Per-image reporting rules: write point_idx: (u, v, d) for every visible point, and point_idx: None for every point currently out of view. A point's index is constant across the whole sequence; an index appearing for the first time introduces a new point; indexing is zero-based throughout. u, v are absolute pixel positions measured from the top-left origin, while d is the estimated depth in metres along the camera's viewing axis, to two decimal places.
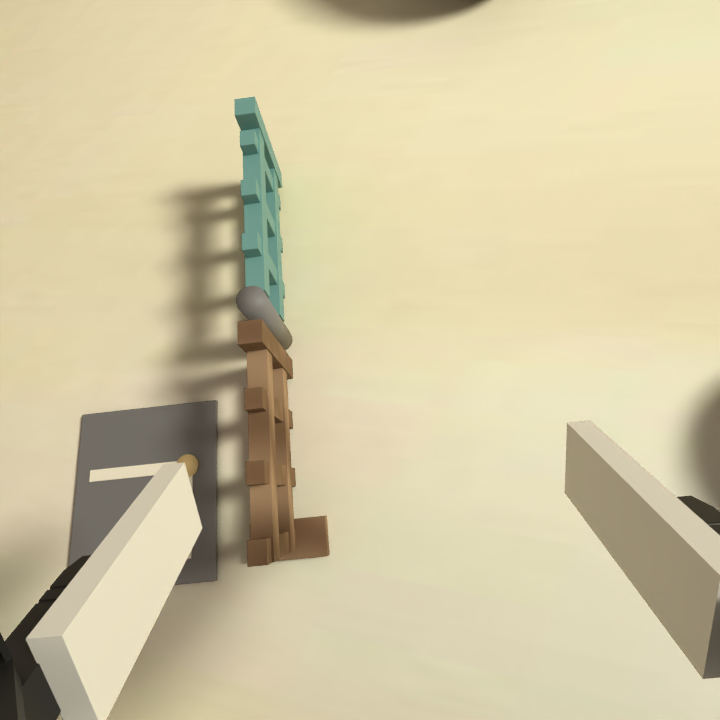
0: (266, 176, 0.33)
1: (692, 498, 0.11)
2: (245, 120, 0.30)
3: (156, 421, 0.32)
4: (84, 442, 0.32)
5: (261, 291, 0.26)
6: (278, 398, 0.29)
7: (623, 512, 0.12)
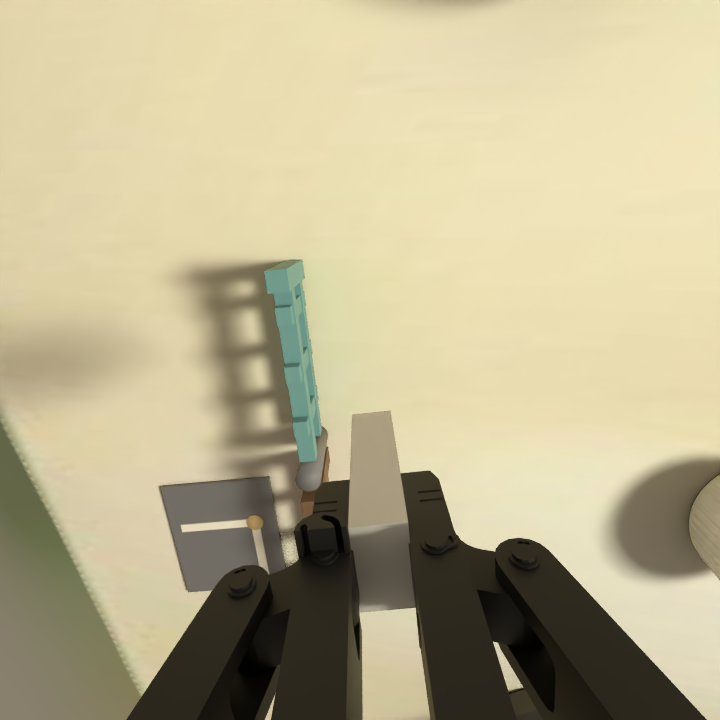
0: (298, 315, 0.31)
1: (428, 472, 0.14)
2: None
3: (222, 492, 0.41)
4: (169, 506, 0.41)
5: (316, 474, 0.32)
6: None
7: None
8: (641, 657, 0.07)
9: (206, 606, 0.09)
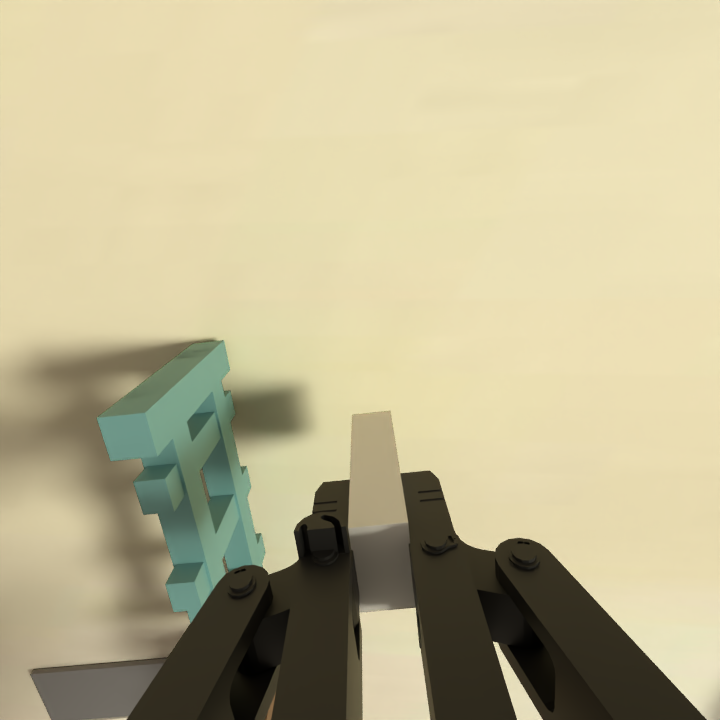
0: (205, 458, 0.17)
1: (428, 472, 0.14)
2: None
3: (127, 679, 0.26)
4: (47, 698, 0.27)
5: None
6: None
7: None
8: (641, 657, 0.07)
9: (205, 606, 0.09)
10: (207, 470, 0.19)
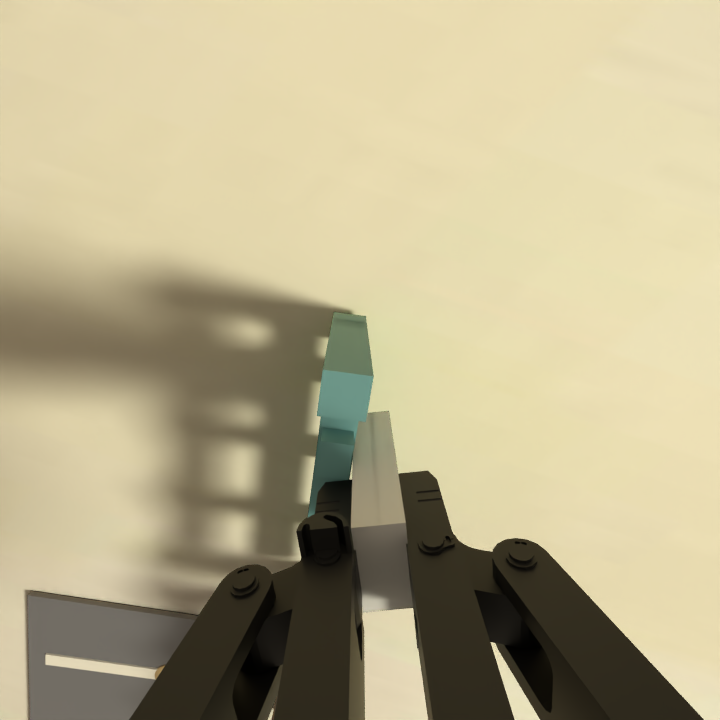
0: None
1: (426, 472, 0.14)
2: None
3: (130, 625, 0.25)
4: (34, 625, 0.25)
5: None
6: None
7: None
8: (638, 658, 0.07)
9: (209, 605, 0.09)
10: None
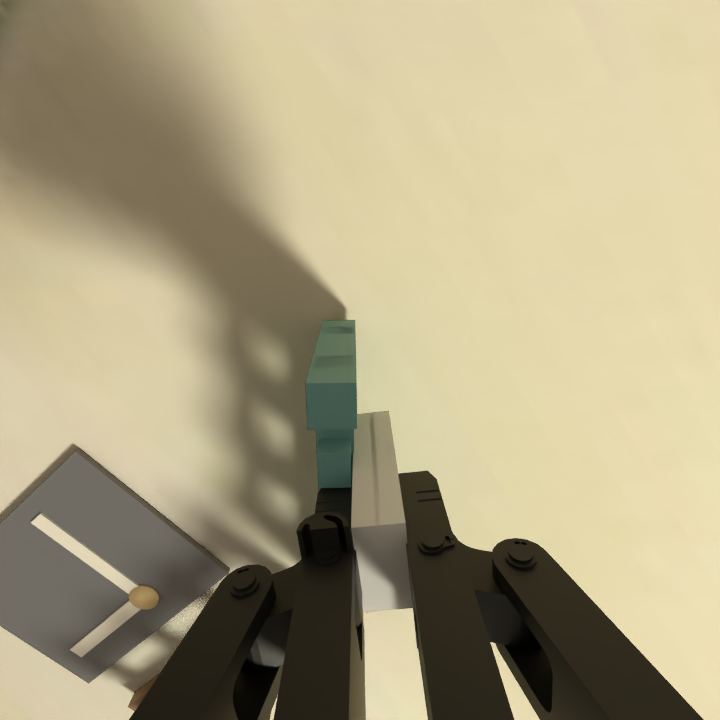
0: None
1: (426, 472, 0.14)
2: None
3: (151, 534, 0.23)
4: (55, 481, 0.22)
5: None
6: None
7: None
8: (638, 658, 0.07)
9: (209, 605, 0.09)
10: None
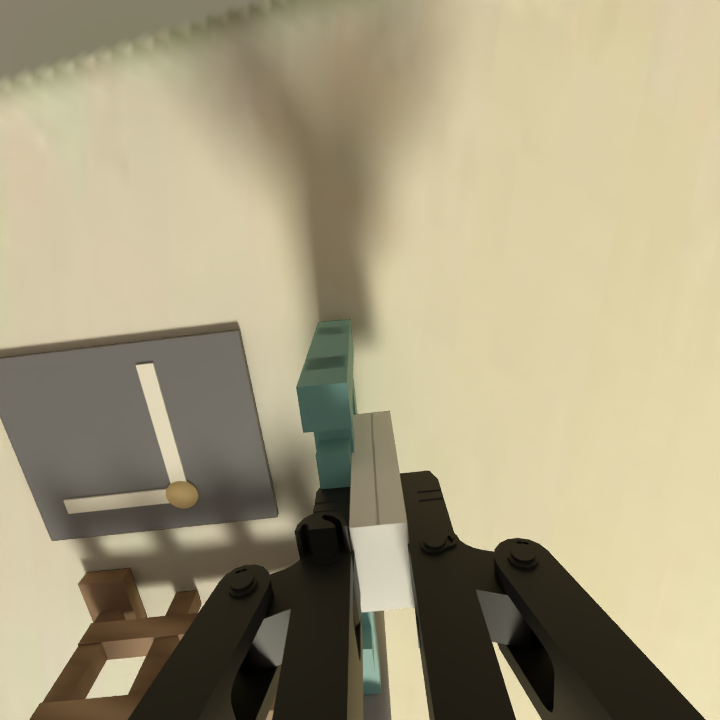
0: None
1: (428, 472, 0.14)
2: None
3: (240, 444, 0.21)
4: (193, 344, 0.20)
5: None
6: None
7: None
8: (640, 657, 0.07)
9: (207, 606, 0.09)
10: None
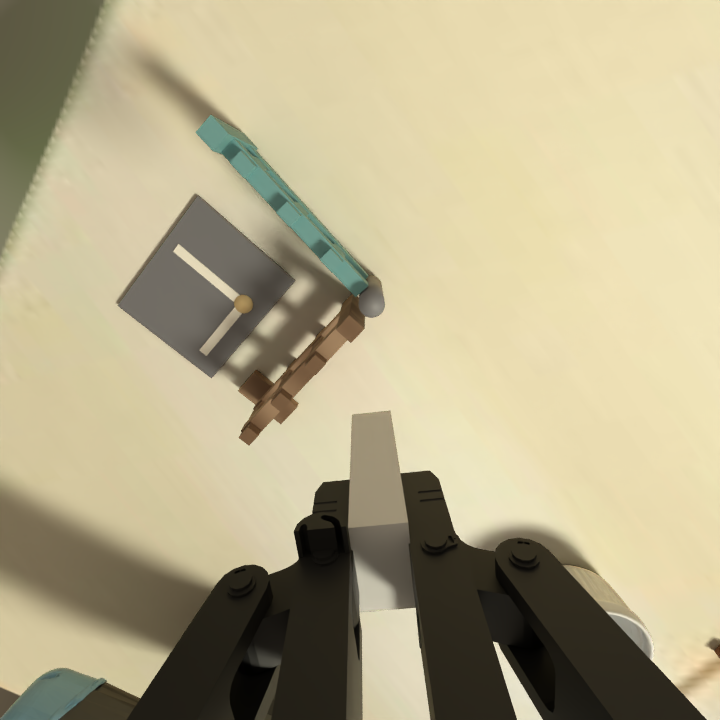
0: (264, 170, 0.30)
1: (428, 472, 0.14)
2: (222, 145, 0.27)
3: (245, 254, 0.37)
4: (186, 219, 0.36)
5: (374, 293, 0.30)
6: None
7: None
8: (641, 657, 0.07)
9: (205, 606, 0.09)
10: None
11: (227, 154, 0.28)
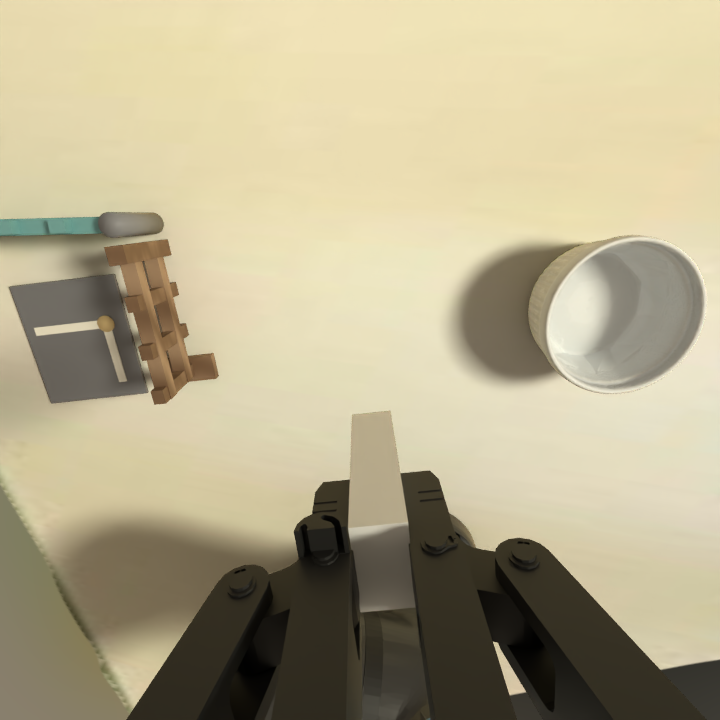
0: None
1: (428, 472, 0.14)
2: None
3: (70, 291, 0.42)
4: (20, 308, 0.42)
5: (102, 216, 0.33)
6: (159, 282, 0.39)
7: None
8: (641, 658, 0.07)
9: (205, 606, 0.09)
10: None
11: None
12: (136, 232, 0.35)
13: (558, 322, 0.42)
